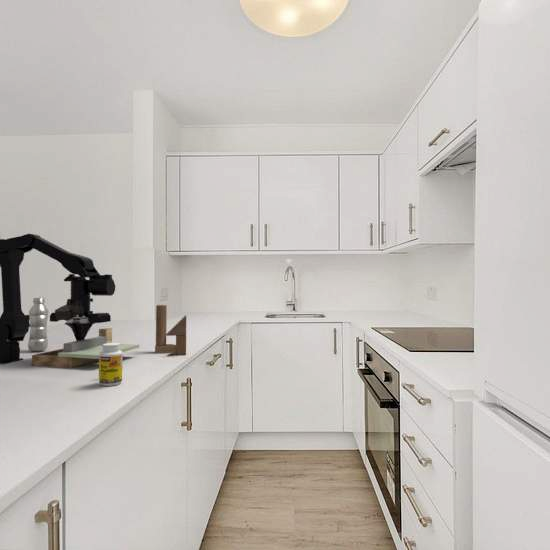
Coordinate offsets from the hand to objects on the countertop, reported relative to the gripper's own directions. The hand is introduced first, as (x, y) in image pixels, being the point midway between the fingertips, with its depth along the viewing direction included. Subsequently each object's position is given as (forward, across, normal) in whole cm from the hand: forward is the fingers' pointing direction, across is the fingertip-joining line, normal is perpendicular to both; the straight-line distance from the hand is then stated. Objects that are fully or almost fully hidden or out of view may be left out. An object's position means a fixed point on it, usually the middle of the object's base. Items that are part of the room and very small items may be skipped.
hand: (79, 344), depth 124 cm
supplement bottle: (+6, +26, -19) cm, 33 cm away
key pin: (+6, -4, +18) cm, 19 cm away
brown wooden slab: (+6, -1, 0) cm, 6 cm away
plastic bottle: (+6, -30, +14) cm, 34 cm away
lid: (+2, +8, 0) cm, 8 cm away
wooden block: (+6, +21, +21) cm, 30 cm away
